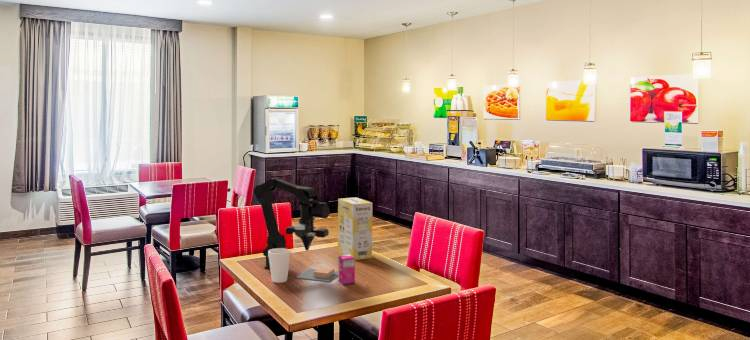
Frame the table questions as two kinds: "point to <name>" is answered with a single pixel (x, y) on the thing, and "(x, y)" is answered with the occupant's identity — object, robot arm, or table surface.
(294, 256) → the table surface
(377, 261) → the table surface
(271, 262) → the foam cup
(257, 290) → the table surface
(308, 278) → the mat
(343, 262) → the supplement box
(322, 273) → the tile
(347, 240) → the pasta box
